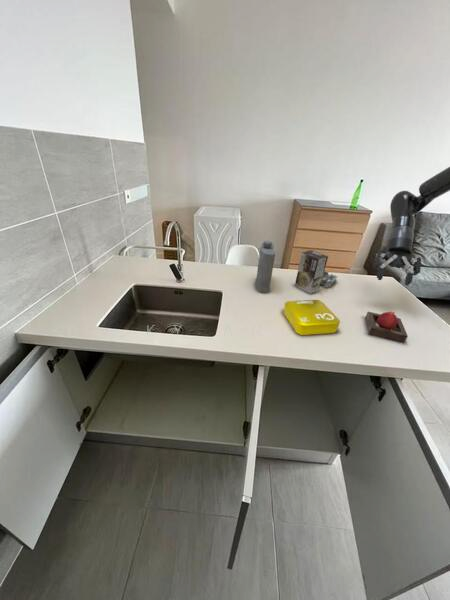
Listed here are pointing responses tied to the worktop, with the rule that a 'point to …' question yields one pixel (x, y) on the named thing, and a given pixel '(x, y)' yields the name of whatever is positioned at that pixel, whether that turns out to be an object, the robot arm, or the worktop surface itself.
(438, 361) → the worktop surface
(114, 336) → the worktop surface
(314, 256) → the coffee box
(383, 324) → the onion
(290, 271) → the worktop surface
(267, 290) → the flask
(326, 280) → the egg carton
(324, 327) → the element tile
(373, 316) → the tray
